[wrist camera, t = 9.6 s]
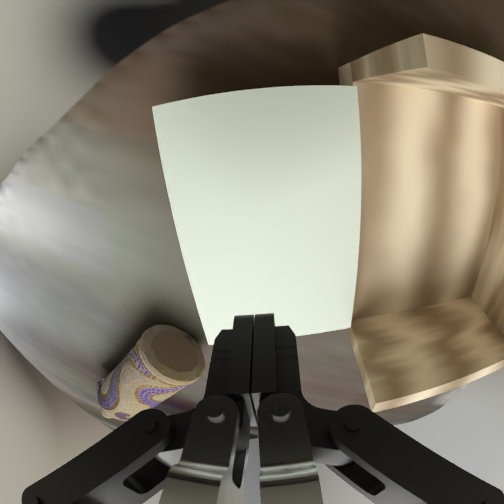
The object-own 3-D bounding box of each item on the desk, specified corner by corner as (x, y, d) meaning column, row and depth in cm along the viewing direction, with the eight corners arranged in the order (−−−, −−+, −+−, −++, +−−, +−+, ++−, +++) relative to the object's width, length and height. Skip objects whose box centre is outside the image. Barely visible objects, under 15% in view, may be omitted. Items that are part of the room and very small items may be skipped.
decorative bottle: (153, 307, 28) (133, 355, 22) (211, 344, 30) (203, 393, 24) (88, 387, 37) (75, 418, 31) (126, 409, 39) (117, 440, 34)
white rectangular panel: (356, 86, 14) (152, 106, 14) (350, 327, 22) (208, 344, 23) (345, 88, 15) (161, 107, 16) (344, 312, 24) (210, 328, 24)
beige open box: (488, 92, 15) (584, 112, 5) (463, 289, 26) (515, 360, 15) (337, 67, 17) (422, 33, 6) (340, 310, 27) (371, 412, 16)
